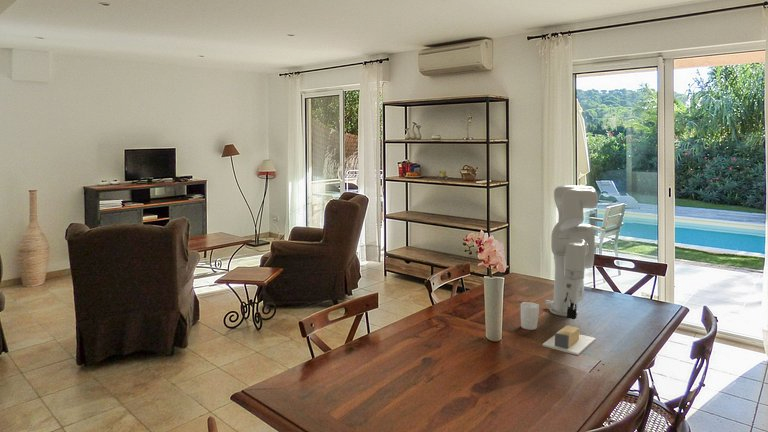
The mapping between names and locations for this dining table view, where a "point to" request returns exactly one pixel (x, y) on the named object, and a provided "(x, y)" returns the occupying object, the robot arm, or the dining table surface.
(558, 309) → the robot arm
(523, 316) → the white cup
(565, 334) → the ochre block
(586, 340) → the white board
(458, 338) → the dining table surface
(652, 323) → the dining table surface
